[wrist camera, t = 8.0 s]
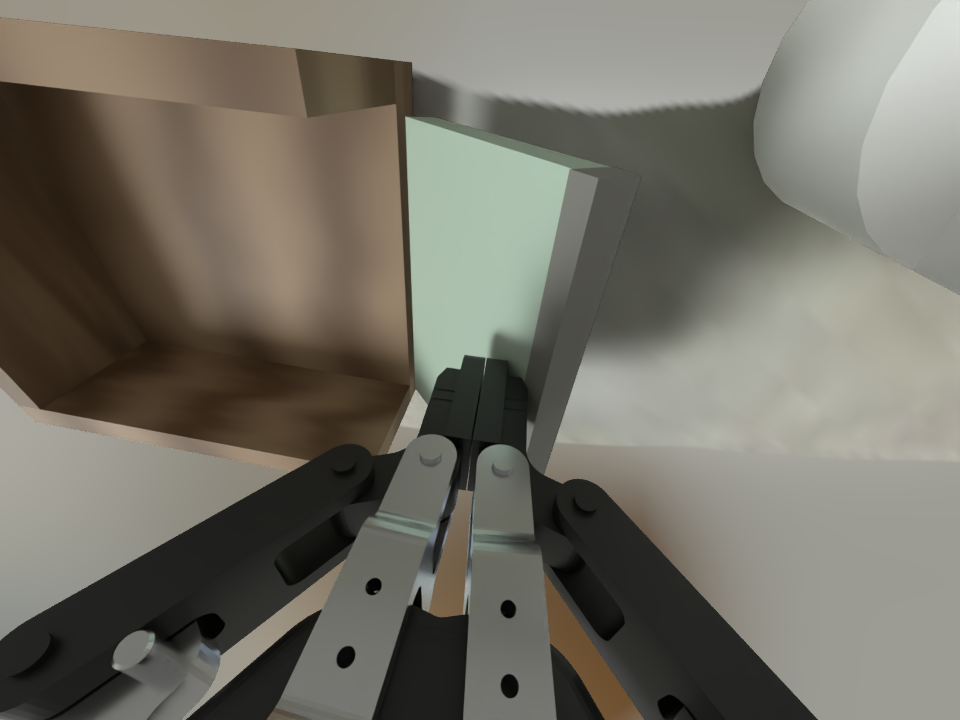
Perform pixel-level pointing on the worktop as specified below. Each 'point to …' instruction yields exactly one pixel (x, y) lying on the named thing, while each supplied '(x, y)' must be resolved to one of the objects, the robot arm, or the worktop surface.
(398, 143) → the box
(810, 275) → the worktop surface
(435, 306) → the panel
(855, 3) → the cylinder with rectangular tab
